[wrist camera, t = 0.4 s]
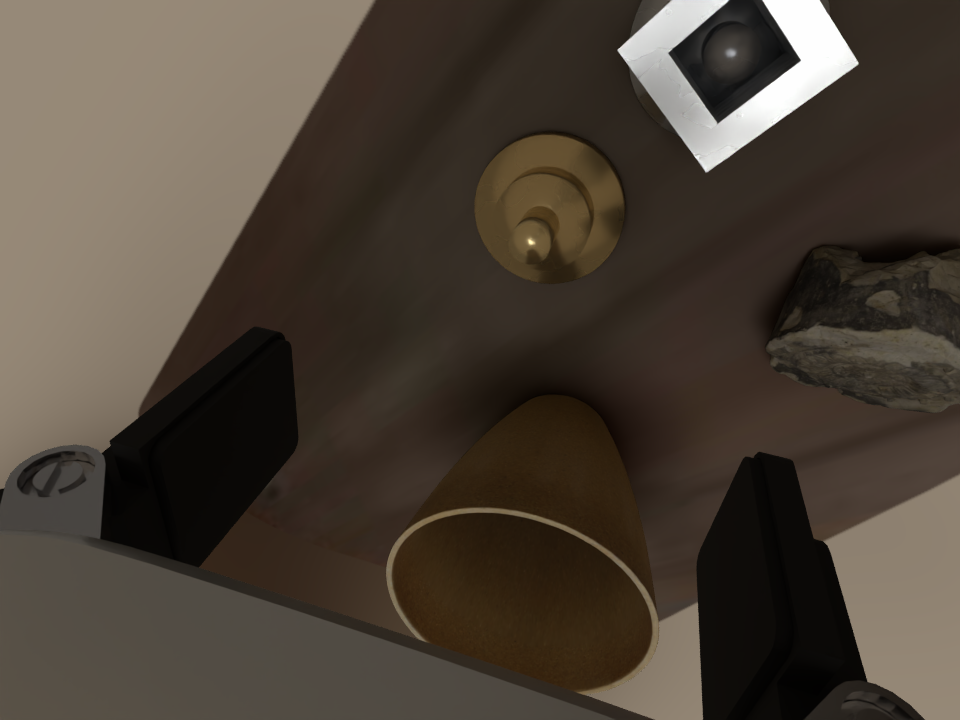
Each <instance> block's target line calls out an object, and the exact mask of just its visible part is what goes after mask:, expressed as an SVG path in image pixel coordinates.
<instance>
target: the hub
mask: <svg viewBox="0 0 960 720" xmlns="http://www.w3.org/2000/svg"><path fill="white" fill-rule="evenodd" d="M475 218H476V224H477V228H478V231H479V234H480V236H481V239H482V241H483V243H484V244H485V246H486V248H487V250H488V251H489V252H490V253H491V255H492V256H493V257H494V258H495V259H496V260H497V261H498V262H499V263H500V264H501V265H502V266H503V267H505V268H506V269H507V270H509V271H510V272H512V273H513V274H515V275H517V276H519V277H521V278H524V279H527V280H530V281H534V282H538V283H547V284H555V283H564V282H569V281H573V280H576V279H579V278H581V277H583V276H585V275H587V274H589V273H590V272H592V271H594V270H595V269H596V268H597V267H599V266H600V265H601V264H602V263H603V262H604V261H605V260H606V259H607V258H608V256H609V255H610V254H611V252H612V251H613V249H614V248H615V246H616V244H617V242H618V239H619V237H620V234H621V231H622V227H623V222H624V218H625V195H624V190H623V186H622V183H621V180H620V177H619V175H618V173H617V171H616V169H615V168H614V166H613V165H612V163H611V162H610V160H609V159H608V158H607V157H606V156H605V155H604V154H603V153H602V152H601V151H600V150H599V149H598V148H596V147H595V146H594V145H592V144H591V143H589V142H588V141H586V140H584V139H581V138H579V137H577V136H574V135H571V134H567V133H561V132H540V133H534V134H531V135H527V136H525V137H522V138H520V139H518V140H516V141H514V142H513V143H511V144H509V145H508V146H507V147H506V148H504V149H503V150H502V151H501V152H500V153H499V154H498V155H497V156H496V157H495V158H494V159H493V160H492V161H491V162H490V163H489V165H488V166H487V168H486V169H485V171H484V173H483V175H482V177H481V179H480V181H479V184H478V187H477V191H476V196H475Z"/></svg>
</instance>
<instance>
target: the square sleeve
mask: <svg viewBox="0 0 960 720" xmlns="http://www.w3.org/2000/svg"><path fill="white" fill-rule="evenodd" d="M728 1H729V0H671V1H670V2H669V3H667V4H666V5H665V6H664V7H663V8H662V9H661V10H660V11H659V12H658V13H657V14H655V15H654V16H653V17H652V18H651V19H650V20H649V21H648V22H647V23H646V24H645V25H643V26H642V27H641V28H640V29H639V30H638V31H637V32H636V33H635V34H634V35H633V36H631V37H630V38H629V39H628V40H627V41H626V42H625V43H624V44H623V45H622V46H621V47H620V48H619V49H618V52H619V53H620V55H621V56H622V57H623V59H624V60H625V61H626V63H627V64H628V66H629V67H630V68H631V70H632V71H633V72H634V74H635V75H636V77H637V78H638V79H639V81H640V82H641V83H642V85H643V86H644V88H645V89H646V90H647V92H648V93H649V94H650V96H651V97H652V99H653V100H654V101H655V103H656V104H657V105H658V107H659V108H660V110H661V111H662V112H663V114H664V115H665V116H666V118H667V119H668V120H669V122H670V123H671V125H672V126H673V127H674V129H675V130H676V131H677V133H678V134H679V136H680V137H681V138H682V140H683V141H684V142H685V144H686V145H687V147H688V148H689V149H690V151H691V152H692V153H693V155H694V156H695V158H696V159H697V160H698V162H699V163H700V164H701V166H702V167H703V169H704V170H705V171H706V173H707V172H708V171H710V170H711V169H712V168H714V167H715V166H717V165H718V164H719V163H721V162H722V161H724V160H725V159H726V158H728V157H729V156H731V155H732V154H733V153H735V152H736V151H738V150H739V149H740V148H742V147H743V146H745V145H746V144H747V143H749V142H750V141H752V140H753V139H754V138H756V137H757V136H759V135H760V134H761V133H763V132H764V131H766V130H767V129H768V128H770V127H771V126H773V125H774V124H775V123H777V122H778V121H780V120H781V119H782V118H784V117H785V116H787V115H788V114H789V113H791V112H792V111H794V110H795V109H796V108H798V107H799V106H801V105H802V104H803V103H805V102H806V101H808V100H809V99H810V98H812V97H813V96H815V95H816V94H817V93H819V92H820V91H822V90H823V89H824V88H826V87H827V86H829V85H830V84H831V83H833V82H834V81H836V80H837V79H838V78H840V77H841V76H843V75H844V74H845V73H847V72H848V71H850V70H851V69H853V68H854V67H855V66H857V65H858V64H859V63H858V62H857V60H856V58H855V57H854V55H853V54H852V52H851V50H850V49H849V47H848V45H847V44H846V42H845V41H844V39H843V37H842V36H841V34H840V33H839V31H838V29H837V28H836V26H835V25H834V23H833V21H832V20H831V18H830V16H829V15H828V13H827V12H826V10H825V8H824V7H823V5H822V4H821V2H820V0H753V1H754V3H755V4H756V6H757V7H758V9H759V10H760V12H761V13H762V15H763V16H764V18H765V19H766V21H767V23H768V24H769V26H770V27H771V29H772V30H773V32H774V33H775V35H776V36H777V38H778V39H779V41H780V43H781V44H782V46H783V47H784V49H785V50H786V52H785V53H784V54H783V55H781V56H780V57H779V58H777V59H776V60H775V61H774V62H772V63H771V64H770V65H768V66H767V67H766V68H764V69H763V70H762V71H761V72H759V73H758V74H757V75H755V76H754V77H753V78H752V79H750V80H749V81H748V82H746V83H745V84H744V85H742V86H741V87H740V88H739V89H737V90H736V91H735V92H733V93H732V94H731V95H730V96H728V97H727V98H726V99H724V100H723V101H722V102H720V103H719V104H718V105H717V106H715V107H714V108H713V107H712V106H711V104H710V103H709V101H708V100H707V98H706V97H705V96H704V94H703V93H702V91H701V90H700V89H699V87H698V86H697V84H696V83H695V81H694V80H693V79H692V77H691V76H690V74H689V73H688V71H687V70H686V69H685V67H684V66H683V64H682V63H681V62H680V60H679V59H678V57H677V56H676V54H675V53H674V52H673V50H672V49H673V48H674V47H676V46H677V45H678V44H679V43H680V42H681V41H683V40H684V39H685V38H686V37H687V36H688V35H689V34H691V33H692V32H693V31H694V30H695V29H696V28H698V27H699V26H700V25H701V24H702V23H703V22H704V21H706V20H707V19H708V18H709V17H710V16H711V15H713V14H714V13H715V12H716V11H717V10H718V9H720V8H721V7H722V6H723V5H724V4H725V3H726V2H728Z"/></svg>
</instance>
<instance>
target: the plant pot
mask: <svg viewBox="0 0 960 720" xmlns="http://www.w3.org/2000/svg"><path fill="white" fill-rule="evenodd" d="M386 578H387V585H388V589H389V593H390V596H391V599H392V602H393V604H394V606H395V608H396V610H397V612H398V613H399V615H400V617H401V618H402V620H403V621H404V623H405V624H406V625H407V627H408V628H409V629H410V630H411V631H412V633H413V634H414V635H415V636H416V637H417V638H418V639H419V640H422V641H425V642H428V643H431V644H434V645H437V646H440V647H443V648H446V649H449V650H452V651H455V652H458V653H461V654H464V655H467V656H470V657H473V658H476V659H479V660H482V661H485V662H488V663H491V664H494V665H497V666H500V667H502V668H505V669H508V670H511V671H514V672H517V673H520V674H523V675H526V676H529V677H532V678H535V679H538V680H541V681H544V682H547V683H550V684H553V685H556V686H559V687H562V688H565V689H568V690H571V691H574V692H577V693H580V694H583V695H590V694H594V693H599V692H602V691H606V690H609V689H612V688H615V687H617V686H619V685H621V684H623V683H625V682H627V681H629V680H630V679H632V678H634V677H635V676H636V675H637V674H639V673H640V672H641V671H642V670H643V669H644V668H645V666H646V665H647V664H648V663H649V661H650V660H651V658H652V657H653V655H654V652H655V650H656V647H657V644H658V638H659V623H658V615H657V608H656V601H655V594H654V588H653V581H652V575H651V569H650V563H649V557H648V552H647V546H646V541H645V536H644V532H643V527H642V523H641V519H640V515H639V512H638V508H637V504H636V501H635V497H634V494H633V491H632V488H631V485H630V482H629V479H628V476H627V473H626V470H625V467H624V465H623V462H622V460H621V457H620V455H619V452H618V450H617V447H616V445H615V443H614V441H613V439H612V437H611V435H610V433H609V431H608V429H607V427H606V425H605V423H604V421H603V420H602V418H601V417H600V416H599V414H598V413H597V412H596V411H595V410H593V409H592V408H591V407H590V406H588V405H587V404H586V403H584V402H582V401H580V400H578V399H575V398H573V397H569V396H564V395H542V396H538V397H535V398H533V399H530V400H528V401H527V402H525V403H524V404H522V405H521V406H519V407H518V408H516V409H515V410H514V411H512V412H511V413H510V414H508V415H507V416H506V417H504V418H503V419H502V420H501V421H499V422H498V423H497V424H496V425H495V426H493V427H492V428H491V429H490V430H489V431H488V432H487V433H486V434H485V435H483V436H482V437H481V438H480V439H479V440H478V441H477V442H476V443H475V444H474V445H473V446H472V447H471V448H470V449H469V450H468V451H467V452H466V453H465V454H464V455H463V457H462V458H461V459H460V460H459V461H458V462H457V463H456V464H455V465H454V467H453V468H452V469H451V470H450V471H449V472H448V474H447V475H446V476H445V477H444V478H443V479H442V481H441V482H440V483H439V484H438V486H437V487H436V488H435V489H434V491H433V492H432V493H431V495H430V496H429V497H428V499H427V500H426V501H425V503H424V504H423V505H422V506H421V508H420V509H419V510H418V512H417V513H416V514H415V516H414V517H413V519H412V520H411V521H410V523H409V524H408V525H407V527H406V528H405V530H404V531H403V532H402V534H401V535H400V537H399V538H398V540H397V541H396V542H395V544H394V546H393V548H392V550H391V552H390V555H389V558H388V562H387V568H386Z"/></svg>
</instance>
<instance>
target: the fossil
mask: <svg viewBox="0 0 960 720" xmlns="http://www.w3.org/2000/svg"><path fill="white" fill-rule="evenodd" d="M765 349H766V352H767V353H768V354H770V355H771V358H770V365H771V367H772V369H773V370H775V371H776V372H778V373H780V374H785V375H786V376H788V377H789V378H791V379H792V380H794V381H796V382H798V383H801V384H803V385H806V386H812V387H827V388H829V387H830V388H837V389H838V391H839V393H841V394H842V395H844V396H847V397H850V398H852V399H853V400H855V401H858V402H862V403H866V404H871V405H881V406H884V407H888V408H896V409H902V410H909V411H919V412H928V413H936V412H942V411H943V410H944V409H946V408H947V407H948V406H949V405H952V404H960V249H954V250H949V251H948V252H943V253H939V254H937V255H936V256H932V255H929V254H927V253H926V251H921V252H918V253H917V254H915V255H914V256H912V257H910V258H908V259H906V260H901V261H896V262H894V263H866V262H863V261H862V257H860V256H859V254H858V252H857V251H851V250H844V249H841V248H839V247H838V246H822V247H819V248H817V249H814V250H813V251H812V253H811V254H810V256H809V257H808V259H807V261H806V262H805V264H804V266H803V268H802V270H801V272H800V275H799V277H798V280H797V282H796V284H795V286H794V288H793V289H792V291H791V292H790V293H789V294H788V297H787V299H786V301H785V303H784V306H783V308H782V311H781V313H780V316H779V318H778V320H777V323H776V325H775V327H774V330H773V332H772V334H771V337H770V339H769V341H768V342H767V344H766V346H765Z"/></svg>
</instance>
